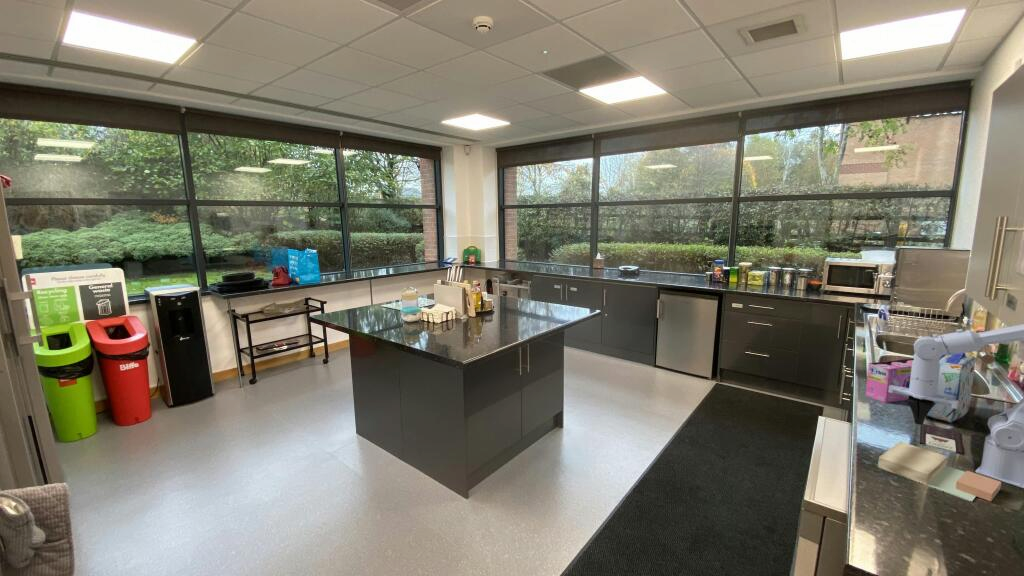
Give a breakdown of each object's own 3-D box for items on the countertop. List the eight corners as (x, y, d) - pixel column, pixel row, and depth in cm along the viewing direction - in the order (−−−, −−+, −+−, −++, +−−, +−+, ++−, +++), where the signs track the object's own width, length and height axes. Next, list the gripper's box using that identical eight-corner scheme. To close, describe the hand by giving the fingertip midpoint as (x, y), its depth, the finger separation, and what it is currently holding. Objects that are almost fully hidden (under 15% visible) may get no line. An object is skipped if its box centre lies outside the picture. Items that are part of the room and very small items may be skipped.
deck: (946, 466, 116) (947, 456, 116) (926, 485, 108) (928, 474, 107) (899, 451, 124) (900, 441, 124) (877, 467, 116) (878, 457, 116)
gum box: (910, 389, 171) (914, 357, 169) (933, 397, 164) (937, 363, 162) (864, 395, 166) (867, 362, 164) (885, 403, 158) (889, 369, 157)
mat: (989, 481, 109) (989, 479, 109) (971, 502, 101) (971, 500, 101) (946, 466, 116) (946, 465, 116) (926, 485, 108) (926, 484, 108)
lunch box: (932, 399, 161) (939, 344, 158) (972, 408, 153) (980, 350, 150) (915, 419, 145) (922, 357, 142) (958, 430, 137) (966, 365, 134)
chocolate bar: (959, 431, 135) (962, 453, 122) (959, 434, 135) (962, 456, 122) (920, 423, 141) (919, 442, 128) (920, 425, 141) (919, 445, 128)
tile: (967, 470, 110) (966, 477, 110) (956, 481, 105) (955, 488, 106) (1001, 481, 105) (1000, 489, 105) (991, 493, 100) (990, 501, 101)
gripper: (886, 374, 124) (881, 417, 126) (955, 389, 112) (949, 437, 113) (895, 369, 128) (890, 411, 129) (963, 383, 115) (957, 430, 117)
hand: (918, 423), depth 122 cm, fingers closed
